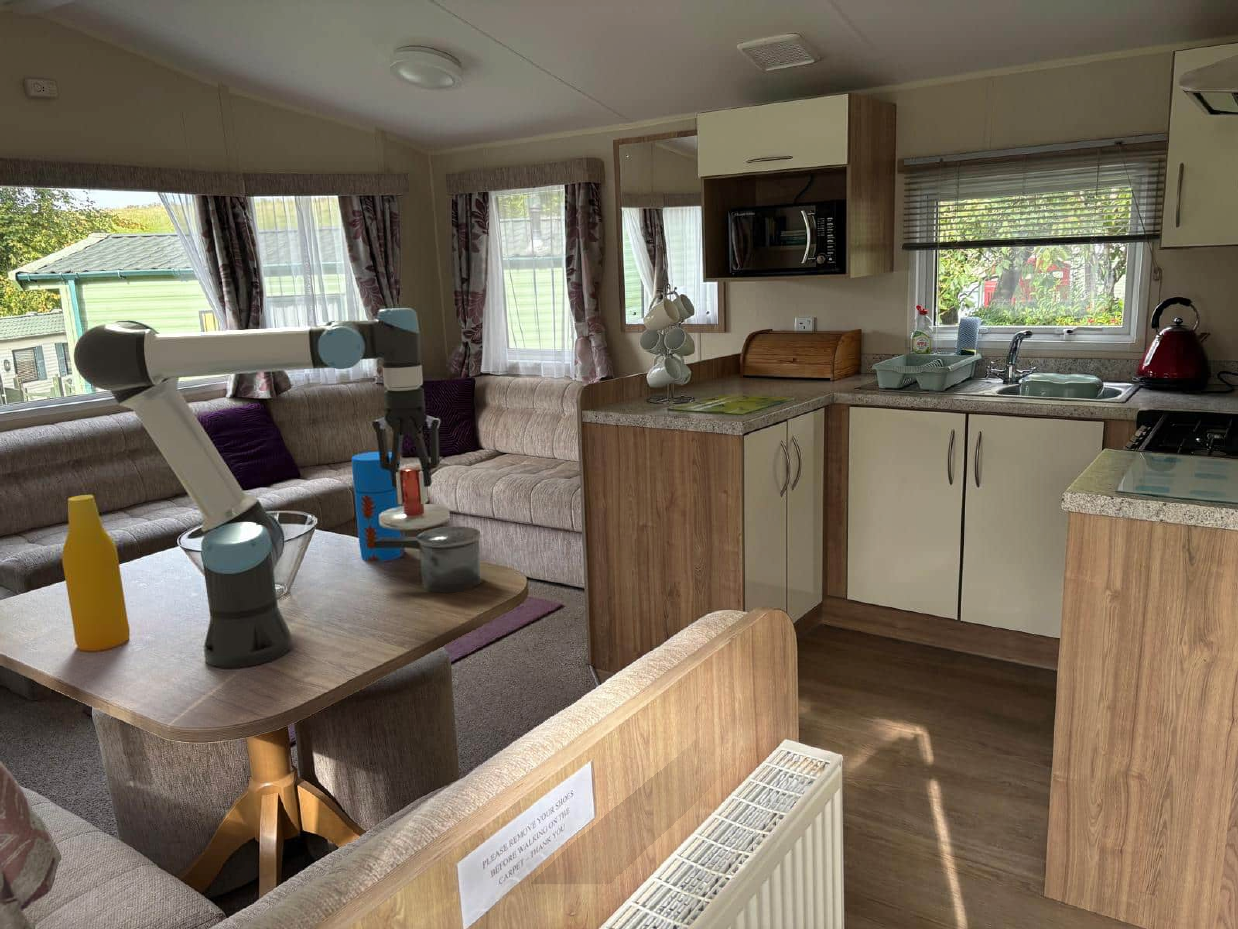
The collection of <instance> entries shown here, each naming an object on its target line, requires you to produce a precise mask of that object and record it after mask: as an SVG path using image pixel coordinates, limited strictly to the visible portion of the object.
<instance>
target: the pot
mask: <svg viewBox="0 0 1238 929" xmlns="http://www.w3.org/2000/svg"><path fill="white" fill-rule="evenodd" d="M480 539H481V531H480V530H479V529H478V528H474V527H470V526H460V525H459V526H457V525H455V526H453V525H452V526H443V527H436V528H432V529H428V530H426V531H423V532H420V533H419V534H418V535H417V536H404V537H378V538H377V539H376V540H375V541H374V548H405V549H407V548H409V549H411V548H413V549H414V548H416V549H417V548H419V554H420V557H419V559H420V568H421V581H422V587H423V588H424V589H425V590H427V591H430V592H435V593H456V592H461V591H462V592H463V591H465V590H469V589H470V590H471V589H474V587H477V586H478V585H480V584H481V583H482V581H483V580H482V567H481V565H482V564H481V550H480ZM480 582H481V583H480ZM479 583H480V584H479ZM476 585H477V586H476Z"/></svg>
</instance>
